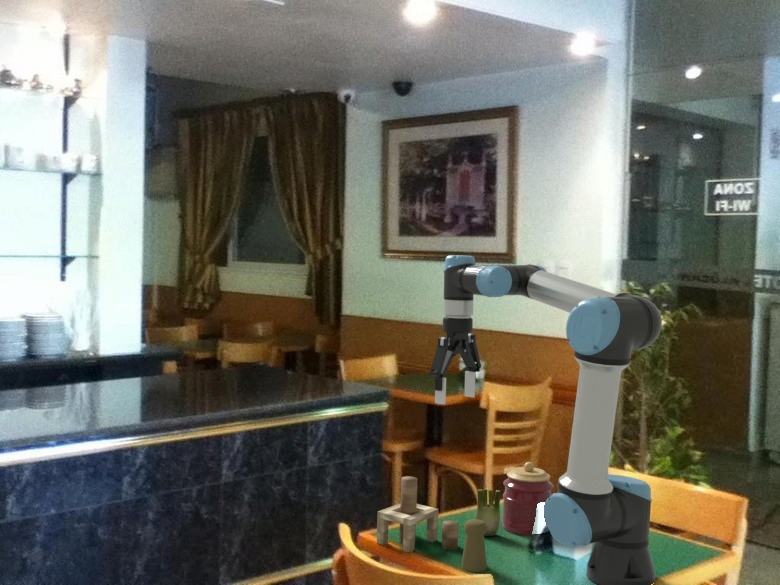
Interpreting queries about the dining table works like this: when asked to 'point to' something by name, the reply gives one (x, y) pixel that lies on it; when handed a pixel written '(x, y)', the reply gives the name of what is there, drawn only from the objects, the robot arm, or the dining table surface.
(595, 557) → the robot arm
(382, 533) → the open square stand
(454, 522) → the short pin
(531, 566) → the dining table surface
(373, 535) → the dining table surface
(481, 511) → the fennel bulb
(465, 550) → the olive tapered knobbed peg
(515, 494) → the canister
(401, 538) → the long pin
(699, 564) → the dining table surface
